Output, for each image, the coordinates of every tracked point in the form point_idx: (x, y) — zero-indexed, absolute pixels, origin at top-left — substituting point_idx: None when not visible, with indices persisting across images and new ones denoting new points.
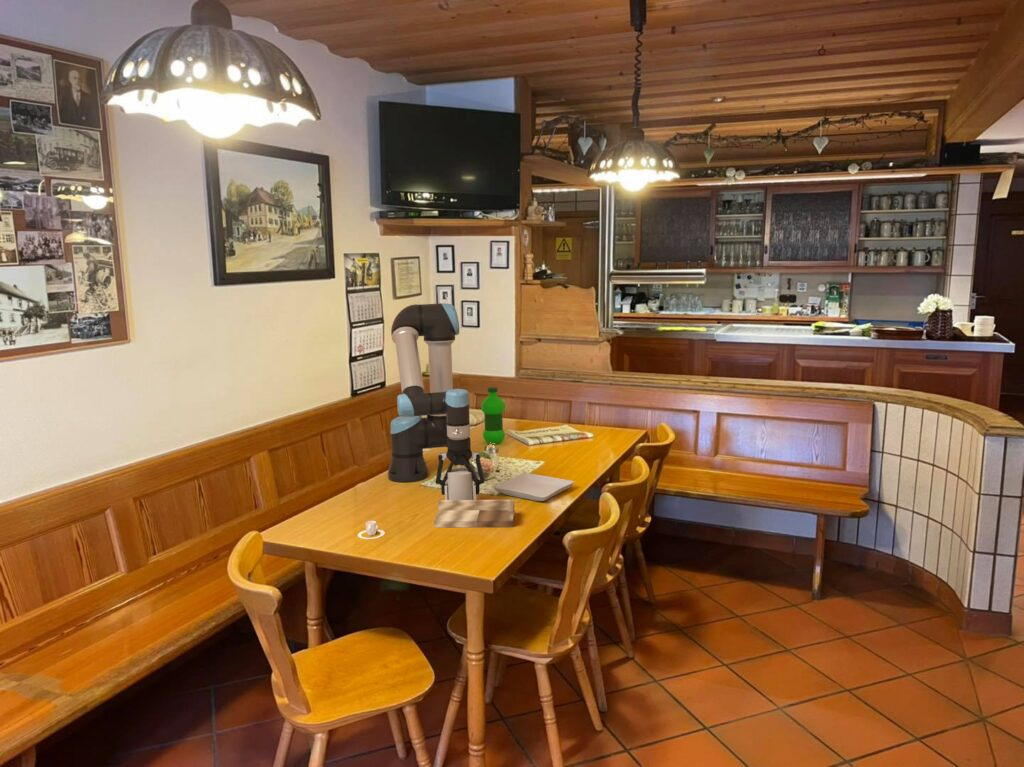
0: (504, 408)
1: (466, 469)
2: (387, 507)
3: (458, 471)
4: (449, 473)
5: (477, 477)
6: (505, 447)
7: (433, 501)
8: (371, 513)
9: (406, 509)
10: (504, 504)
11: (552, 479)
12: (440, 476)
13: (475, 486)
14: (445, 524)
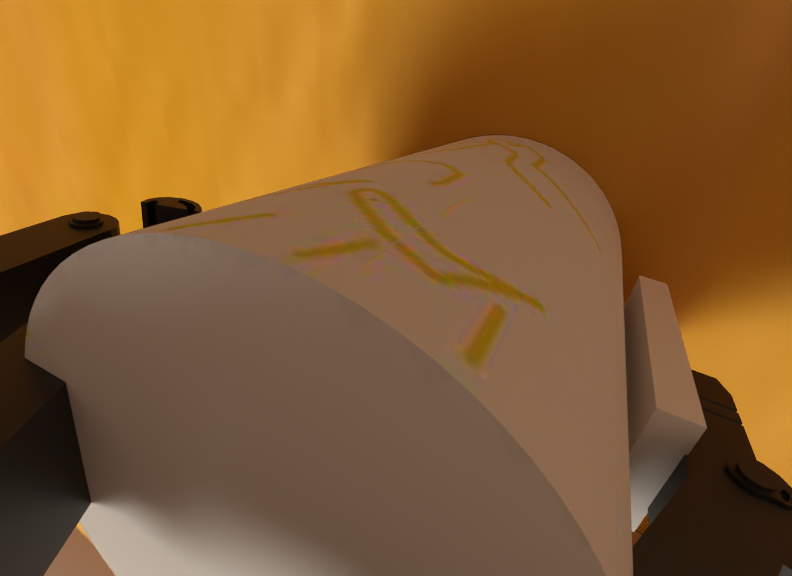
0: None
1: (442, 530)
2: (33, 110)
3: (223, 544)
4: (97, 544)
5: (778, 571)
6: None
7: (264, 28)
8: (9, 197)
9: (131, 187)
10: None
11: None
12: (48, 273)
13: (639, 512)
14: None
